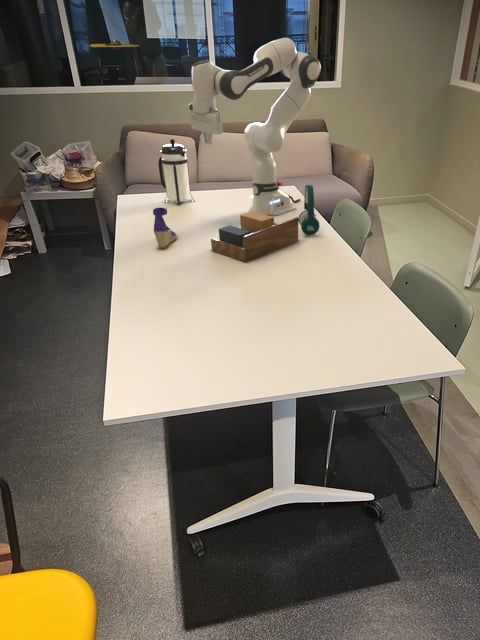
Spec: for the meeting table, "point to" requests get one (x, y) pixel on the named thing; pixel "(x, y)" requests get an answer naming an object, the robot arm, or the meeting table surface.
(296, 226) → the wooden corner tray
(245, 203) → the meeting table surface
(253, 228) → the tan stepped block
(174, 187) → the coffee press
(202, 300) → the meeting table surface
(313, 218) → the headphones
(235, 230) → the dark grey block
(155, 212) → the purple and beige piece
